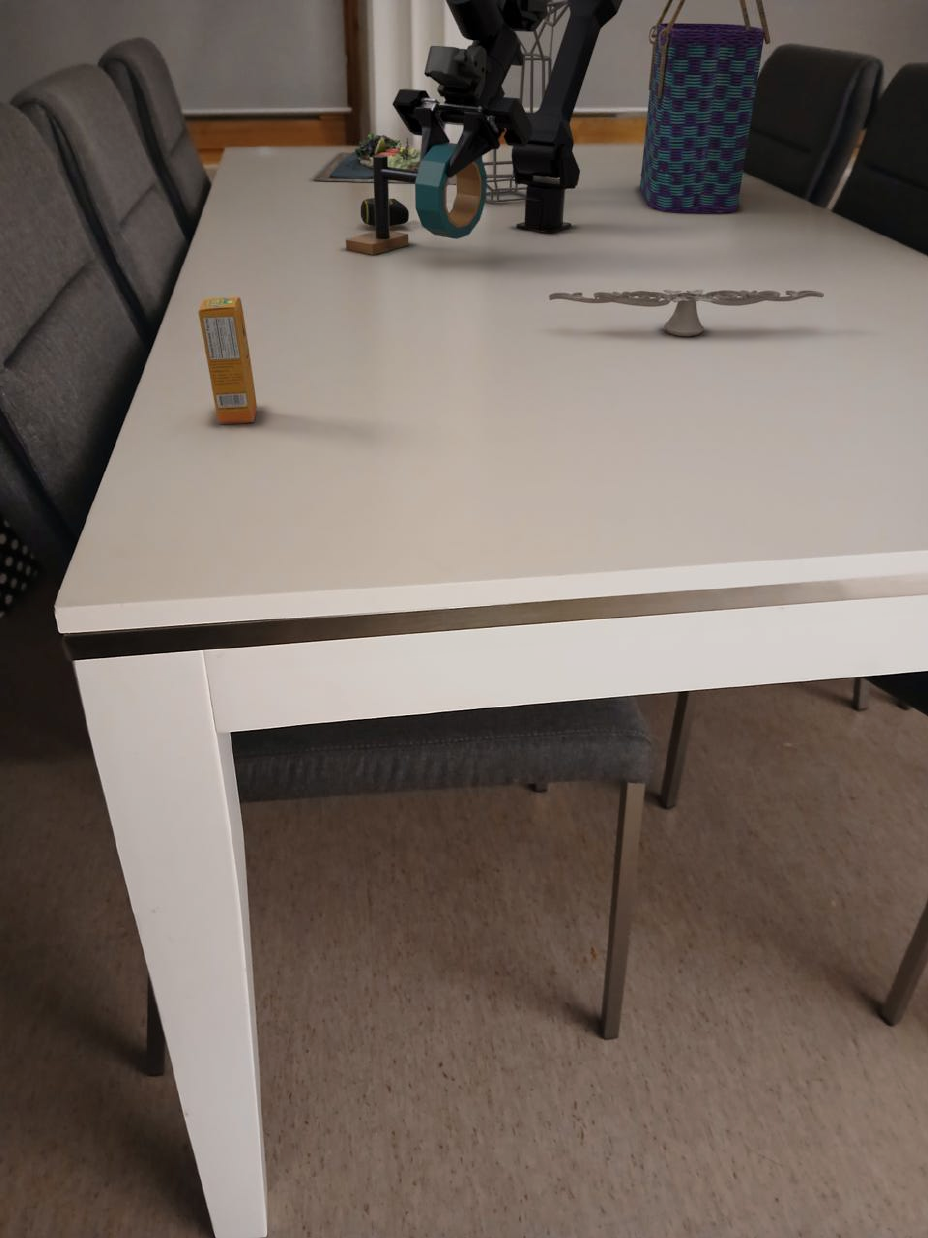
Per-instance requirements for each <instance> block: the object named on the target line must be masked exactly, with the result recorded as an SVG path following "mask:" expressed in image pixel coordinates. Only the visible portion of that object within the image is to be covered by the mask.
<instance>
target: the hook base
mask: <svg viewBox="0 0 928 1238" xmlns="http://www.w3.org/2000/svg"><path fill="white" fill-rule="evenodd" d="M406 246H409V234H408V233H405V232H399V231H393V230H390V238H388V239H378V238H376V231H375V230H374V231H371V232H366V233H363V234H360V235H356V236H351V237H349V238H345V250H346V251H349V252H350V251H351V252H355V253H360V254H366V255H370V256H371V255H372V256H375V255H379V254H382V253H386V252H388V251H392V250H395V249H398V248H399V249H400V248H402V247H406Z"/></svg>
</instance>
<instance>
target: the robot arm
mask: <svg viewBox="0 0 928 1238" xmlns="http://www.w3.org/2000/svg"><path fill="white" fill-rule="evenodd" d="M549 1H550V0H445V2H446V4H447V6H448V9H449V11H450V13H451V15H452V17H453V19H454V21H455V24H456V26H457V28H458V30H459V32H460V34H461V36H462V37H463V38H465V40H469V41H472V43H471V44H470V45H468V46H467V48H459V47H456V46H443V45H442V46H441V45H431V46H430V47H429V51H428V54H427V59H426V64H425V69H424V72H423V74H424V76H425V77H426V78H430V79H432V80H433V81H435V83H437V84H438V86H437V89H436V92H437V93H438V94H439V97H440V98H441V97H442V98H444V102H440V101H439V100H438V99H436V98H432V97H430V94H429V93H428V91H427V90H426V89H416V88H415V89H414V88H400V89H398V92H397V94H396V96H395V97H394V100H393V101H392V107H393V108H394V110H395V111H396V113H397V114H398V116H399V117H400V119H401V121H402V122H403V124H404V126H405V127H406V128H407V130H408V132H410V133H411V134H412V135H414V136H418V137H419V136H420V137H421V145H420V148H421V154H420V164H421V161H422V159H423V158H424V157H425V155H426V154H427V153H428V152H429V150H430V149H431V148H432V146H434V145H437V144H442V143H451V140H450V138H449V137H448V135H447V133H446V132H445V129H446V125H453V126H463V127H462V132H461V135H460V136H459V139H458V141H457V142H456V144H457V145H456V147H455V150H454V152H453V154H452V156H451V158H450V160H449V163H448V166H447V169H446V174H447V176H448V177H449V178H452V177H453V176H454V175H456V174H457V173H458V172H460V171H461V170H463V169H464V168H465V167H467V166H468V165H469V164H471V163H472V162H474V161H475V160H476V159H478V158H480V157H481V156H482V157H483V156H485V155H486V154H489V152H491V151H493V149H496V150H499V148H500V147H501V143H500V141H499V140H500V138H501V137H502V134H504V135H503V138H504V141H505V143H506V145H507V146H509V147H510V146H511V147H512V148H511V161H512V164H511V165H512V172H514V179H515V181H514V184H515V185H516V184H518V185H525V187H526V190H525V194H526V196H525V198H526V200H524V201H525V203H524V221H522V222H519V223H516V226H515V227H516V229H520V230H521V229H522V230H528V231H534V232H541V233H547V234H553V233H557V232H559V231H562V230H565V229H568V228H571V227H572V223H571V222H567V221H564V212H565V197H566V190H574V189H576V187H578V184H579V180H580V174H581V169H580V167H579V165H578V162H577V159H576V157H575V155H574V152H573V149H574V145H575V141H574V137H573V133H572V128H571V120H572V118H573V113H574V111H575V109H576V105H577V102H578V99H579V95H580V93H581V90H582V87H583V83H584V80H585V77H586V75H587V72H588V68H589V66H590V62H591V59H592V57H593V53H594V50H595V47H596V44H597V41H598V38H599V35H600V32H601V30H602V28H603V27H604V26H606V25H607V23H609V22H610V21H611V20H612V19H613V18H614V17H615V16H616V15H617V14H618V12H619V10H620V8H621V5H622V3H623V1H624V0H568V4H569V7H568V9H569V17H568V20H567V23H566V26H565V29H564V32H563V35H562V39H561V42H560V44H559V47H558V50H557V53H556V57H555V60H554V62H553V65H552V71H551V75H550V78H549V81H548V80H547V83H546V86H545V93H544V96H543V99H542V98H541V103H540V105H539V108H538V109H537V110H536V111H535V112H533V113H530V112H526V110H525V108H524V105H523V102H522V103H521V101H520V99H519V98H520V97H510V96H505V95H506V93H505V90H504V88H503V87H502V86H503V84H504V83H505V80H506V77H507V75H508V73H509V71H510V69H511V67H512V66H517V67H522V65H523V51H522V46H521V43H520V42H519V40H518V38H517V36H516V34H517V32H521V33H522V32H525V33H533V31H535V30H536V31H537V29H539V27H540V25H541V24H542V22H544V20H543V19H544V18H545V17H546V15H547V14H548V12H549V8H548V7H547V3H548V2H549ZM515 32H516V33H515ZM419 167H420V165H419ZM540 176H541V177H540Z"/></svg>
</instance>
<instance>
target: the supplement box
mask: <svg viewBox="0 0 928 1238" xmlns="http://www.w3.org/2000/svg"><path fill="white" fill-rule="evenodd" d="M201 302H202V303H201V305H200V307H199V309H198V312H197V313H198V318H199V324H200V329H201V335H202V339H203V345H204V352H205V357H206V364H207V368H208V374H209V379H210V386H211V392H212V397H213V402H214V408H215V409H214V410H215V414H216V421H217V424H220V425H222V424H223V425H224V424H228V425H229V424H244V423H245V424H246V423H253V422H255V418H256V413H257V410H258V404H257V397H256V388H255V382H254V375H253V368H252V367H253V366H252V361H251V354H250V346H249V342H248V341H249V340H248V335H247V328H246V321H245V315H244V309H243V304H242V303H243V302H242V299H241V297H240V296H230V297H229V296H226V297H224V296H223V297H212V298H204V299H203V300H202V301H201Z"/></svg>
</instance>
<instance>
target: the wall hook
mask: <svg viewBox="0 0 928 1238" xmlns="http://www.w3.org/2000/svg"><path fill="white" fill-rule="evenodd" d="M784 294H785V296H781V292H779V291H775V290H763V291H758V290H752V291H748V290H739V291H737V290H728V289H726V290H725V289H724V290H716V291H709V292H706V293H705V294H704V289H695V290H686V291H685V292H683V291H682V290H676V291H675V290H669V289H663V292H660V291H659V292H657V291H648V290H638V291H623V292H621V293H620V292H617V291H612V292H603V291H599V292H594V293H593V297H592V298H591V297H585V296H583V292H573V293H572V294H571V293H567V292H554V293H551V294H549V296H548V299H549V301H553V300H568V301H573V302H579V303H587V304H607V303H616V304H622V305H627V306H635V307H645V308H646V307H653V308H654V307H655V308H657V307H662V306H664V307H665V306H668V305H669V304H670V303H671V302H672V303H676V306H675V309H674V311H673V313H672V315H671V317H670V318H669V319H668V321H666V322H665V323H664V325H663V328H664V330H665V331H666V332H667V333H668V334H670V335H673V336H678V337H693V336H698V335H699V334H701V333H702V332H703V330H704V326H703V325H702V323H701V321H700V318H699V314H698V309H697V302H699V301H702V302H708V303H712V304H714V305H719V306H725V307H727V306H728V307H729V306H730V307H736V306H737V307H738V306H747V305H748V306H749V305H754V304H757V303H761V302H764V301H768V302H792V301H796V300H797V301H798V300H800V299H804V298H808V297H812V298H813V297H815V298H823V297H824V296H825V294H824V292H821V291H815V290H799V291H795V290H785V293H784Z"/></svg>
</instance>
